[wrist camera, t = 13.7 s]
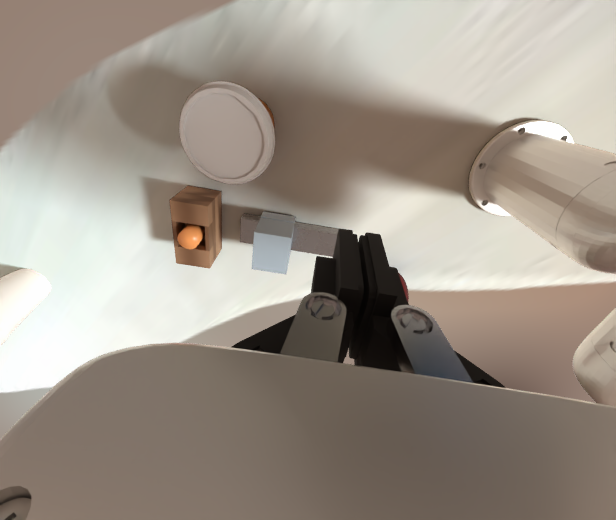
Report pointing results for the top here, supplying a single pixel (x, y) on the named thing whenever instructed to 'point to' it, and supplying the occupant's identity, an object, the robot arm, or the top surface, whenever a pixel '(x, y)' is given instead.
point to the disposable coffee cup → (227, 132)
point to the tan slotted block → (200, 211)
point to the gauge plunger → (191, 236)
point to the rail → (297, 236)
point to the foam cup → (20, 298)
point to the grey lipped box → (273, 242)
